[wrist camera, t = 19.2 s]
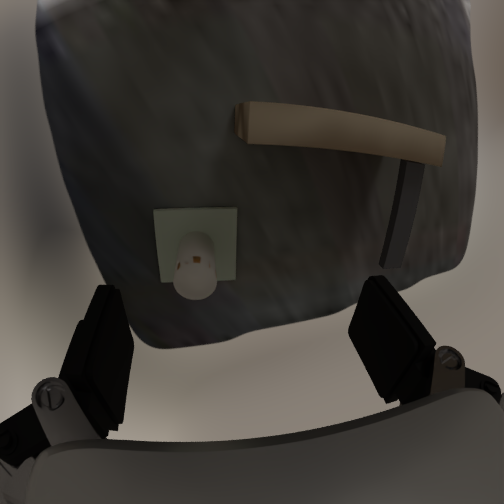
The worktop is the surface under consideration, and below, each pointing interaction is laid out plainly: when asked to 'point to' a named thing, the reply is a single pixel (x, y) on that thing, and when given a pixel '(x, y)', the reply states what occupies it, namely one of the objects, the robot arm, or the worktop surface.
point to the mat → (204, 220)
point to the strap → (402, 213)
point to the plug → (195, 266)
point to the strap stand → (335, 131)
